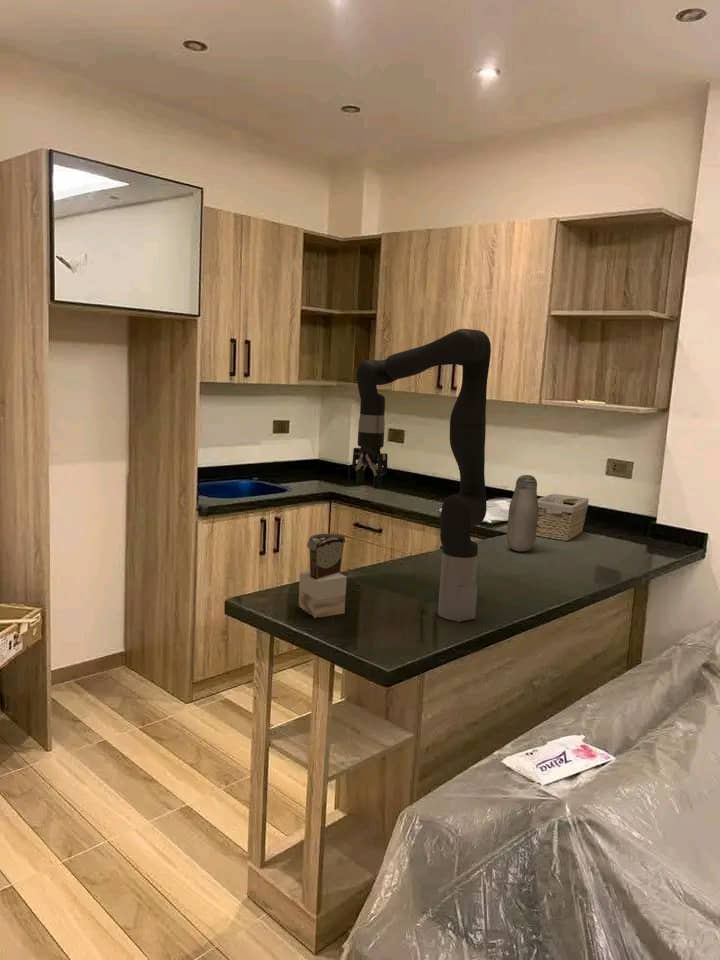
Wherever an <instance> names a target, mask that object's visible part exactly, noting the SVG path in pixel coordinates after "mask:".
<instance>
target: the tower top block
mask: <svg viewBox="0 0 720 960" xmlns="http://www.w3.org/2000/svg"><path fill="white" fill-rule="evenodd" d="M347 579H348V577H347V576H345V575H343V574H342V573H341V572H340V573H337V574H334V575H330V576H327V577H324V578H321V579H318V580H317V579H314V578H312V577H311V575H310V570H304V571H303V570H302V571H299V583H298V585H299V587H298V590H300V591H302V592H304V593H305V594H307V595H309V596H310V597H312V598H314V599H315V600H320V599H326V598H332V597H338V596H344V595H345V596H346V594H347V593H346V592H347Z"/></svg>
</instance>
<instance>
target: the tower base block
mask: <svg viewBox="0 0 720 960" xmlns="http://www.w3.org/2000/svg"><path fill="white" fill-rule="evenodd" d="M298 590H299V589H298ZM299 607H300V608H302V609H303V610H305V611H306V612H308V613H309V614H310V615H312V616H313V617H314V618H313V617H312V616H311V617H312V618H313V619H318V618H317V617H319V618H324V617H325V618H326V617H330V616H336V615H343V614H345V609H346V608H345V607H346V595H344V596H338V597H332V598H326V599H320V600H315V599H314V598H312V597H310V596H309V595H307V594H305V593H304V592H302V591H300V590H299V591H298V608H299ZM300 608H299V609H300ZM302 609H301V610H302ZM303 610H302V611H303ZM305 611H304V612H305ZM306 612H305V613H306ZM308 613H307V614H308ZM309 614H308V615H309ZM310 615H309V616H310Z"/></svg>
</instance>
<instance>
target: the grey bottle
mask: <svg viewBox="0 0 720 960" xmlns="http://www.w3.org/2000/svg"><path fill="white" fill-rule="evenodd" d="M537 481H538V480H537V479H536V477H535V476H534V475H530V474H522V475H520V476H519V477H517V479H516V481H515V488H514V491H513V495H512V497H511V500H510V503H509V508H508V515H507V516H508V517H507V518H508V519H507V528H506V529H507V530H506V531H507V533H506V539H507V545H508V546H509V548H510V549H511V550H513V551H516V552H519V553H520V552H521V553H522V552H527V551H529V550H531V549H532V548H533V546H534V545H535V542H536V537H537V536H536V530H537V522H538V513H539V506H538V499H539V498H538V482H537Z"/></svg>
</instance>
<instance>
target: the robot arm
mask: <svg viewBox="0 0 720 960" xmlns="http://www.w3.org/2000/svg"><path fill="white" fill-rule="evenodd" d="M491 352H492V346H491V341H490V337H489V336H488V335H487V333H486V332H485V331H482V330H480V329H469V328H458V329H455V330H453V331H452V332H449V333H447V334H446V335H444V336H442V337H439V338H438V339H436V340H434V341H432V342H429V343H426V344H423V345H420V346H419V347H418V346H417V347H415V348H410V349H407V350H404V351H401V352H396V353H393V354H391V355H388V357H387V358H386V359H381V360H379V359H364V360H362V361H361V362H360V363H359V364H358V366H357V369H356V374H355V375H356V384H357V389H358V395H359V398H360V407H359V419H358V427H357V429H358V430H357V431H358V432H357V446H358V447H353V450H352V452H353V453H352V461H351V464H352V465H351V467H352V468H353V469H355V471H356V479H355V480H356V484H358V485H362V484H364V483H365V469H366V467H367V466H368V467H369V468H370V470H372V473H373V482H372V483H373V485H372V487H373V489H374V490H378V489H381V487H382V478H383V476H384V475H387V474H388V453H386V452H385V453H382V452H381V449H382V448H383V447H384V445H385V444H384V443H385V428H386V427H385V425H386V421H385V420H386V419H385V413H386V409H385V407H386V398H385V395H382V394H381V393H378V388H377V387H378V386H385V385H388V384H391V383H393V382H395V381H397V380H401V379H404V378H405V379H406V378H409V377H412V376H417V375H419V374H421V373H423V372H425V371H427V370H428V369H431V368H433V367H438V366H445V365H446V366H448V365H458V366H462V367H461V368H462V373H461V374H462V376H461V385H460V390H459V393H458V396H457V398H456V400H455V403H454V405H453V408H452V411H451V413H450V419H449V444H450V448H451V449H450V450H451V452H452V454H453V456H454V459H455V462H456V464H457V467H458V470H459V492H458V493H454V494H451V495H449V496H448V497H446V498H445V499H444V501H443V502H442V505H441V510H440V511H441V512H440V532H439V533H440V535H439V536H440V537H439V538H440V543H441V545H442V554H441V566H440V567H441V568H440V578H439V579H440V582H439V594H438V607H437V614H438V616H439V617H441V618H443V619H446V620H449V621H454V622H456V623H461V622H465V621H469V620H470V621H471V620H475V619H476V611H477V598H478V587H479V585H478V584H477V583H476V575H477V565H478V563H477V562H478V553H479V549H478V548H479V546H478V543H477V542H475V541H473V540H472V539H471V531H472V529H471V528H473V527H476V526H479V525H480V524H481V523H483V522H484V520H485V518H486V516H487V510H488V509H487V507H488V506H487V491H486V481H485V480H486V479H485V463H486V462H485V459H486V458H485V456H486V455H485V454H486V453H485V452H486V451H485V449H486V434H487V433H486V432H487V431H486V428H487V427H486V424H487V418H486V417H487V415H486V414H487V408H486V407H487V393H488V392H487V389H488V379H489V378H488V377H489V372H490V371H489V370H490V363H491V354H492V353H491Z"/></svg>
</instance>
